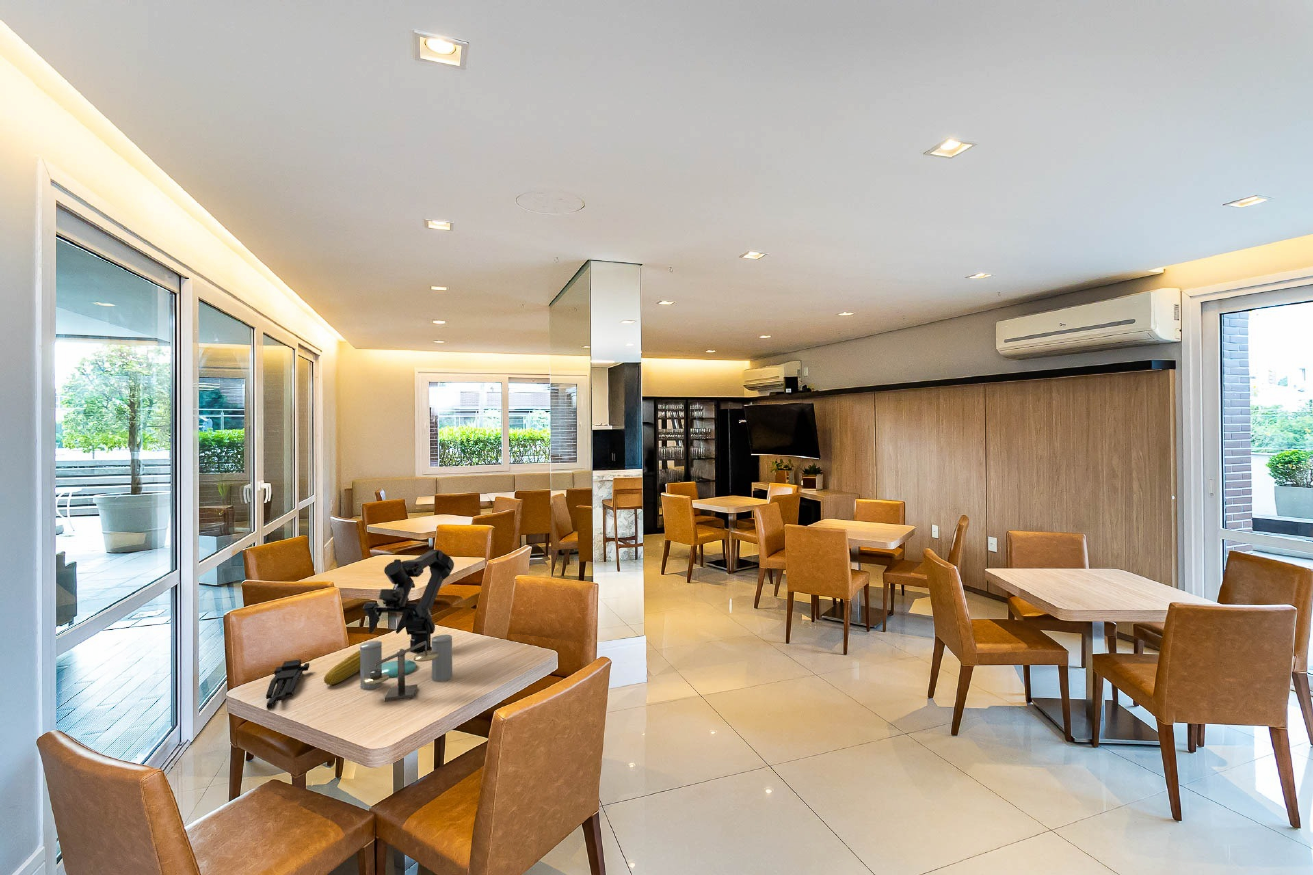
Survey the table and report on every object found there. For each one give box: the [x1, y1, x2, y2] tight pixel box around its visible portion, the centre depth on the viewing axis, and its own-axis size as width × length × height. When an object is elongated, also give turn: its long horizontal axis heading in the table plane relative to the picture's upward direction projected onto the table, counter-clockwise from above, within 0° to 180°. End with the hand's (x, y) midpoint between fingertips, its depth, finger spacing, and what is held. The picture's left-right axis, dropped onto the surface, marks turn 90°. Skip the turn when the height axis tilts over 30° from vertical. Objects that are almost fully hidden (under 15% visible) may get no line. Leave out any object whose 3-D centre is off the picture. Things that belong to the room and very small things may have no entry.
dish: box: [382, 659, 417, 679], centre depth 199 cm, size 13×13×1 cm
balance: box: [363, 641, 438, 703], centre depth 179 cm, size 21×8×15 cm, turn 104°
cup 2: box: [431, 634, 453, 683], centre depth 192 cm, size 6×6×13 cm
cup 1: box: [359, 640, 383, 690], centre depth 187 cm, size 6×6×13 cm
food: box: [323, 650, 360, 686], centre depth 195 cm, size 21×6×6 cm, turn 177°
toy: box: [265, 659, 310, 709], centre depth 184 cm, size 10×5×30 cm
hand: (383, 632), depth 195 cm, fingers open, 9 cm apart
